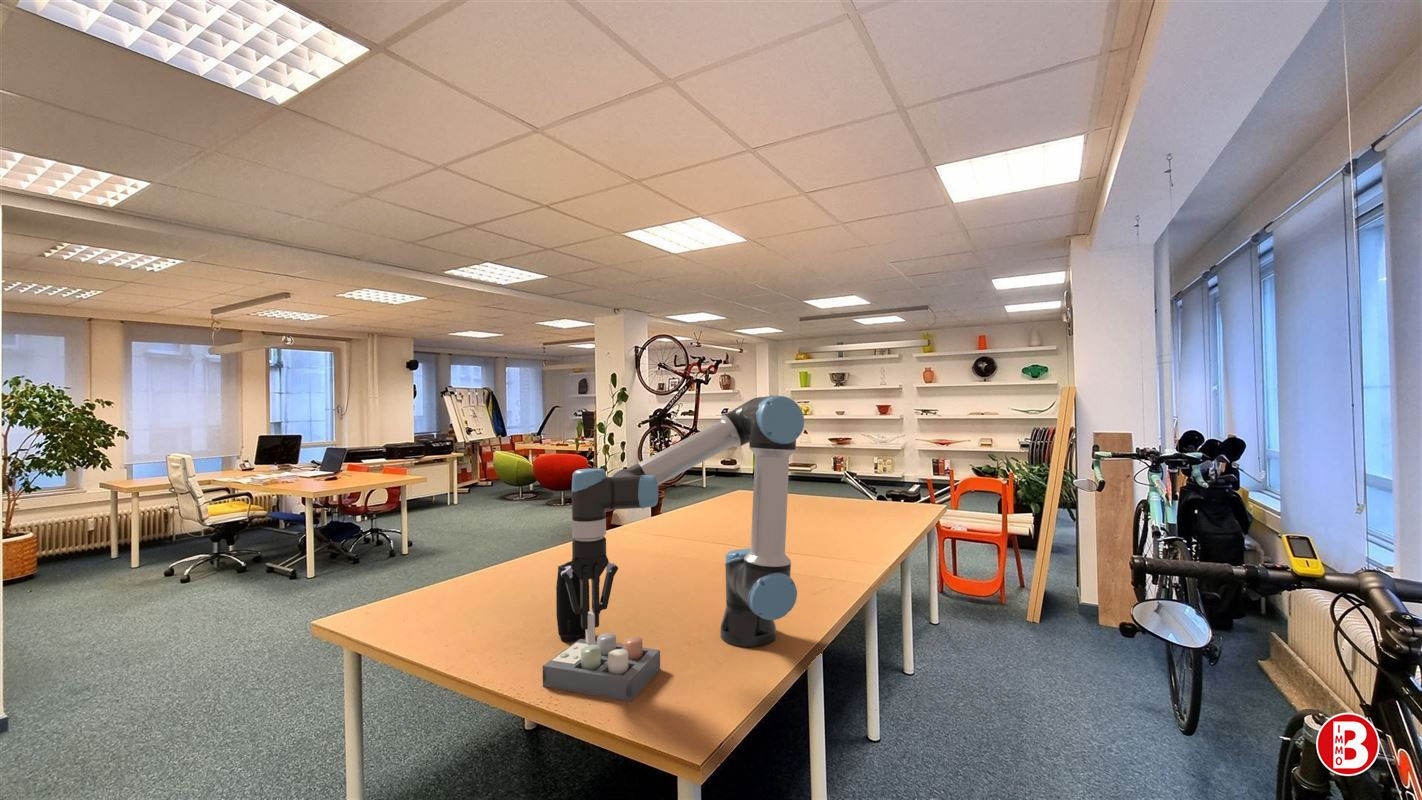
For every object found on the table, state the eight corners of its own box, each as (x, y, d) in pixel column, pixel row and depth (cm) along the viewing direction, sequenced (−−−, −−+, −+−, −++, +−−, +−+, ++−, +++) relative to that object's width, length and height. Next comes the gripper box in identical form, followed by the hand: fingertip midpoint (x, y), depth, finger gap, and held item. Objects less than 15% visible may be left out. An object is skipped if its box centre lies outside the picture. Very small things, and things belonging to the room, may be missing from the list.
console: (660, 669, 126) (659, 648, 126) (630, 701, 112) (630, 678, 112) (580, 656, 133) (580, 637, 133) (542, 686, 119) (542, 664, 119)
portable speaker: (569, 628, 152) (568, 559, 152) (596, 632, 148) (596, 562, 149) (549, 639, 144) (548, 567, 145) (577, 645, 140) (576, 570, 141)
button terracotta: (645, 657, 125) (645, 637, 125) (637, 665, 121) (637, 645, 121) (629, 654, 127) (629, 635, 127) (620, 663, 123) (620, 643, 123)
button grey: (619, 653, 128) (619, 634, 128) (610, 661, 124) (610, 641, 124) (603, 651, 129) (603, 632, 129) (593, 659, 125) (593, 639, 125)
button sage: (604, 666, 121) (604, 646, 121) (594, 675, 117) (593, 654, 117) (587, 664, 122) (587, 644, 123) (577, 672, 118) (576, 652, 118)
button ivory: (632, 670, 119) (631, 650, 119) (622, 680, 115) (622, 659, 115) (614, 668, 120) (614, 648, 120) (604, 677, 116) (604, 656, 116)
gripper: (612, 531, 127) (614, 631, 126) (557, 537, 121) (557, 642, 120) (621, 537, 120) (623, 643, 119) (563, 544, 114) (563, 655, 114)
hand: (590, 642), depth 120 cm, fingers closed
